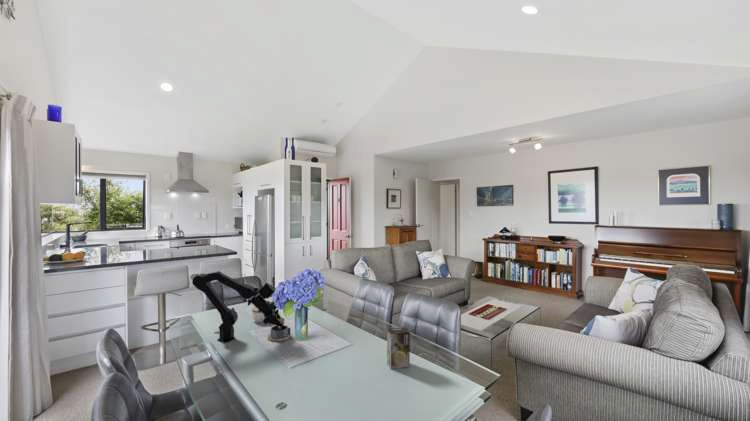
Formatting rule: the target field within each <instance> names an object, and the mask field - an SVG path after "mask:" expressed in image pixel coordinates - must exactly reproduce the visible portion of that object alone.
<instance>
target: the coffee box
mask: <svg viewBox="0 0 750 421" xmlns="http://www.w3.org/2000/svg"><path fill="white" fill-rule="evenodd" d="M386 331H387V332H386V364H387V365H388V367H389V370H390V369H391V370H397V369H405V368H410V361H411V360H410V359H411V358H410V357H411V356H410V354H411V353H410V351H411V349H410V348H411V347H410V346H411V342H410V341H411V340H410V339H411V336H410V334H411V332H410V331H409V330H408V329H407V328H406V327H394V328H387V329H386ZM404 367H405V368H404ZM396 368H397V369H396Z"/></svg>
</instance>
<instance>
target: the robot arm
mask: <svg viewBox="0 0 750 421" xmlns="http://www.w3.org/2000/svg"><path fill="white" fill-rule="evenodd" d="M214 281H217V282H219V283H221V284H222V285H225V287H228V288H230V289H232V290H234V291H236V292H237V293H238V294H239V295H240V297H242V298H243V299H245V300H247V306H250V305H251V304H252V305H253V306H254V307H256V308H257V309H258V310H259V312H262V313H263V314H264V317H265V318H264V320H263V322H262V323H263V324H264V325H268V324H269V325H273V326H276V325H277V326H280V327H281V326H282V324H281V322H280V321H279V320H278V318H282V317H281V315H280V313H279V310H280V309H279V307H276V306H275V305H274V300H272V301H270V300H266V299H269V298H270V297H271V296H272V295H274V293H275V292H276V291H275V290H276V288H275V287H274V286H273V285H272V284H270V283H268V282H266V283H264V285H263V286H262V287H261V288H259V287H254V286H253V285H250V284H247V283H242V282H239V281H237V280H236V279H234V278H232V277H230V276H228V275H226V274H225V273H223V272H222V271H214V272H209V273H200V274H197V275H196V276H194V277H193V278H192V282H191V284H192V285H193V286H194V288H196V289H197V290H199V291H200V292H202V293H203V294H204V295H205V296H206V297H207V299H208V300H209V301H210V302H211V304H212V305H213V306H214V307H215V309H216V310H217V311H218V313H219V315H220V318H221V322H222V323H221V324H220V325H219V326H218V329H219V338H217V339H216V340H217V341H219V342H223V343H227V342H231V341H233V340H235V339H236V337H235V329H234V325H235V324H236V322H237V321H238V319H239V316H238V314H239V313H238V312H237V311H236V310H235V308H234V307H231V308H230V307H228V306H227V304H226V303H225V302H224V301H223V300H222V298H221V297H220V295H218V293H217V291H216V290H215V289H214V287H213V286H212V282H214ZM274 291H275V292H274Z"/></svg>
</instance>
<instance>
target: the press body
mask: <svg viewBox="0 0 750 421" xmlns="http://www.w3.org/2000/svg"><path fill="white" fill-rule="evenodd" d="M291 335H292V333H291V327H289V326H288V325H285V324H284V325H282V326H281V329H280V331H279V326H277V325H273V326H272V327H270V333H269V334H268V336H267V340H268V341H270V342H275V343H276V342H277V343H278V342H284V341H287V340H289V339H291V337H292V336H291Z"/></svg>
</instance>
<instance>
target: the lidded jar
mask: <svg viewBox="0 0 750 421" xmlns="http://www.w3.org/2000/svg"><path fill="white" fill-rule="evenodd" d="M251 315H252V319H253V320H254V321H255V323H263V320H264V318H265V317H264V314H263V313H262V312H259V310H258V309H257V308H256V307H255V306H254V307H252V309H251Z"/></svg>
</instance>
